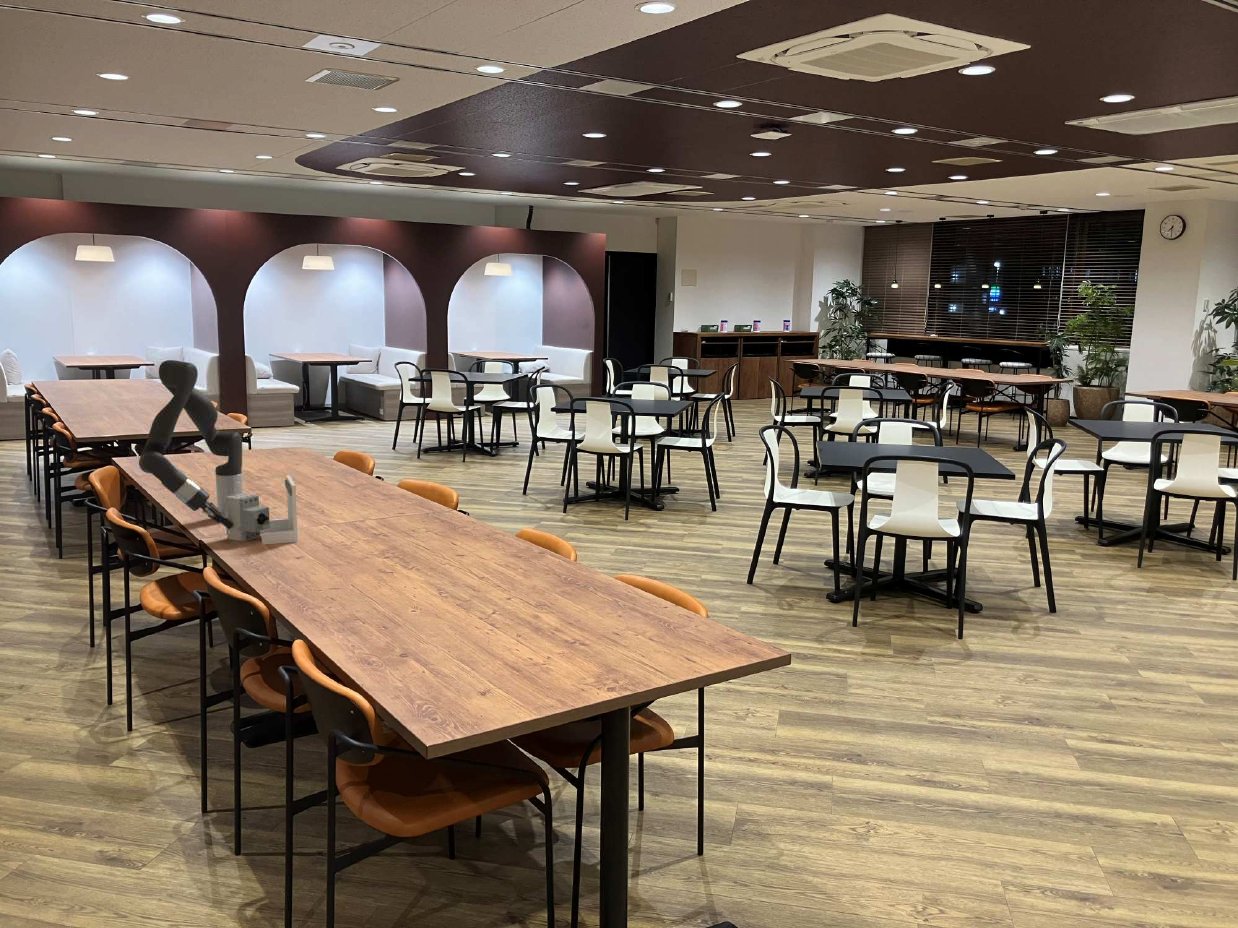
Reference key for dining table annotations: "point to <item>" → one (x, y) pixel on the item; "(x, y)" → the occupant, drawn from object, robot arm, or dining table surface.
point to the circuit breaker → (246, 517)
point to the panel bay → (284, 520)
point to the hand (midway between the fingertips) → (231, 526)
